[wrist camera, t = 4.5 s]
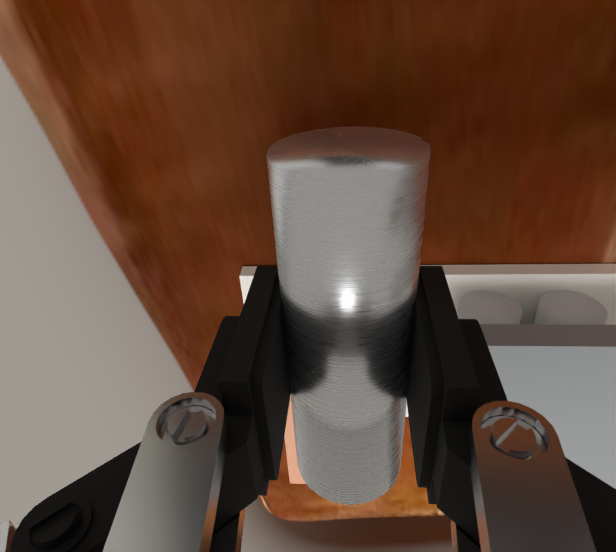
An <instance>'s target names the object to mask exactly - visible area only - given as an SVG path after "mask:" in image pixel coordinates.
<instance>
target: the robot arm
mask: <svg viewBox="0 0 616 552" xmlns="http://www.w3.org/2000/svg"><path fill="white" fill-rule="evenodd" d="M290 395H291V389H290V379H289V369H288V359H287V349H286V339H285V329H284V319H283V309H282V299H281V293H280V286H279V277H278V267H277V266H257V268H256V271H255V274H254V277H253V279H252V282H251V285H250V288H249V291H248V294H247V297H246V300H245V303H244V306H243V309H242V312H241V315H240V316H226V317H224V318H223V320H222V322H221V325H220V327H219V330H218V333H217V335H216V338H215V340H214V343H213V345H212V348H211V351H210V353H209V356H208V358H207V361H206V363H205V366H204V369H203V371H202V374H201V376H200V379H199V381H198V384H197V387H196V389H195V392H189V393H183V394H180V395H177V396H175V397H172V398H170V399H169V400H167V401H166V402H164V403H163V404H161V405H160V406H159V407H158V409H156V411H155V412H154V413H153V415H152V417H151V419H150V420H149V422H148V425H147V428H146V431H145V434H144V436H143V439H142V442H140V443H138V444H137V445H135V446H133V447H132V448H130V449H128V450H126V451H125V452H123V453H121V454H120V455H118V456H117V457H115V458H113V459H112V460H110V461H108V462H106V463H105V464H103V465H102V466H100V467H98V468H96V469H95V470H93V471H91V472H90V473H88V474H87V475H85V476H83V477H81V478H80V479H78V480H76V481H75V482H73V483H71V484H69V485H68V486H66V487H65V488H63V489H61V490H59V491H58V492H56V493H54V494H53V495H51V496H49V497H48V498H46V499H45V500H43V501H42V502H41V503H39V504H38V505H37V506H35V507H34V508H33V509H32V510H31V511H30V512H29V513H28V514H27V516H25V517H24V518H23V520H22V521H21V523H18V524H15V525H13V524H12V523H11V521H10V520H9V521H6V522H3V523H0V552H241V545H242V536H243V527H244V517H245V507H247V506H248V505H249V504H251V503H252V502H253V501H254V500H256V499H257V498H258V495H264V496H266V495H267V489H268V484H269V480H277V478H278V474H279V467H280V461H281V454H282V448H283V441H284V435H285V428H286V422H287V415H288V408H289V402H290ZM406 400H407V408H408V416H409V424H410V432H411V440H412V448H413V456H414V464H415V472H416V480H417V485H418V487H425V488H427V494H428V501H429V504H437V508H438V509H440V510H441V511H442V512H443V513H444V514H445V515H446V516H448V517H449V518H450V519H451V533H452V544H453V552H616V489H615V488H613V487H611V486H610V485H608V484H607V483H605V482H604V481H602V480H600V479H599V478H597V477H596V476H594V475H593V474H591V473H589V472H588V471H586V470H585V469H583V468H582V467H580V466H578V465H577V464H575V463H574V462H572V461H571V460H569V459H567V458H566V457H565V455H564V452H563V449H562V446H561V443H560V440H559V437H558V435H557V433H556V431H555V429H554V427H553V426H552V425H551V424H550V422H549V421H548V420H547V419H546V418H545V417H544V416H543V415H541V414H540V413H538V412H537V411H535V410H534V409H532V408H530V407H527V406H525V405H523V404H520V403H516V402H511V401H508V400H507V397H506V394H505V391H504V389H503V386H502V383H501V381H500V378H499V375H498V372H497V370H496V367H495V364H494V362H493V359H492V356H491V353H490V351H489V348H488V345H487V342H486V340H485V337H484V334H483V332H482V329H481V326H480V324H479V322H478V320H476V319H458V316H457V312H456V309H455V306H454V303H453V299H452V296H451V293H450V290H449V287H448V283H447V280H446V277H445V274H444V270H443V268H442V266H420V268H419V278H418V289H417V295H416V298H415V308H414V318H413V329H412V340H411V351H410V361H409V372H408V383H407V393H406Z"/></svg>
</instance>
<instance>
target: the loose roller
mask: <svg viewBox="0 0 616 552" xmlns="http://www.w3.org/2000/svg"><path fill="white" fill-rule="evenodd" d="M430 152H431V148H430V145H429V144H428V143H427V142H426V141H425V140H424V139H422V138H420V137H418V136H416V135H413V134H410V133H407V132H403V131H399V130H394V129H387V128H379V127H358V126H352V127H332V128H323V129H316V130H310V131H305V132H301V133H297V134H293V135H290V136H288V137H285V138H283V139H280V140H278V141H277V142H275V143H274V144H272V145H271V146H270V147H269V148H268V150H267V152H266V158H267V168H268V177H269V187H270V197H271V207H272V217H273V227H274V237H275V247H276V257H277V267H278V277H279V286H280V293H281V299H282V309H283V319H284V329H285V339H286V349H287V359H288V369H289V379H290V389H291V405H292V415H293V425H294V435H295V445H296V455H297V463H298V468H299V471H300V474H301V476H302V478H303V480H304V481H305V483H306V484H307V485H308V486H309V487H310V488H311V489H312V490H313V491H314V492H315V493H316V494H318V495H320V496H321V497H323V498H325V499H327V500H329V501H332V502H336V503H340V504H350V505H352V504H362V503H366V502H369V501H372V500H374V499H376V498H379V497H380V496H382V495H383V494H385V493H386V492H387V491H388V490H389V489H390V488H391V487H392V485H393V484H394V483H395V481H396V479H397V477H398V474H399V471H400V467H401V457H402V446H403V436H404V425H405V415H406V404H407V400H406V393H407V383H408V372H409V361H410V351H411V340H412V329H413V318H414V308H415V298H416V295H417V289H418V278H419V268H420V257H421V247H422V236H423V226H424V215H425V205H426V194H427V184H428V173H429V163H430Z"/></svg>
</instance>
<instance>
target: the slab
mask: <svg viewBox="0 0 616 552" xmlns="http://www.w3.org/2000/svg"><path fill="white" fill-rule="evenodd" d="M480 326H481V329H482V332H483V334H484V337H485V340H486V342H487V345H488V348H489V351H490V353H491V356H492V359H493V362H494V364H495V367H496V370H497V372H498V375H499V378H500V381H501V383H502V386H503V389H504V391H505V394H506V397H507V400H508V401H511V402H516V403H520V404H523V405H525V406H527V407H530V408H532V409H534V410H535V411H537V412H538V413H540V414H541V415H543V416H544V417H545V418H546V419H547V420H548V421H549V422H550V424H551V425H552V426H553V427H554V429H555V431H556V433H557V435H558V437H559V440H560V443H561V446H562V449H563V452H564V455H565V457H566V458H567V459H569V460H571V461H572V462H574V463H575V464H577V465H578V466H580V467H582V468H583V469H585V470H586V471H588V472H589V473H591V474H593V475H594V476H596V477H597V478H599V479H600V480H602V481H604V482H605V483H607V484H608V485H610V486H611V487H613V488H616V325H566V324H480Z"/></svg>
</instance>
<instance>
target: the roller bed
mask: <svg viewBox="0 0 616 552" xmlns="http://www.w3.org/2000/svg"><path fill="white" fill-rule="evenodd" d="M420 266H442V268H443V270H444V274H445V277H446V280H447V283H448V287H449V290H450V293H451V296H452V299H453V303H454V306H455V309H456V312H457V316H458V319H476V320H478V322H479V324H566V325H616V264H496V265H420ZM256 268H257V266H243V267H242V270H241V273H240V276H239V277H240V283H241V290H242V296H243V303H245V300H246V297H247V294H248V291H249V288H250V285H251V282H252V279H253V277H254V274H255V271H256ZM405 417H409V416H408V408H407V404H406V415H405ZM284 436H285V445H286V453H287V462H288V470H289V478H290V483H297V484H306V483H305V481H304V480H303V478H302V476H301V474H300V471H299V468H298V463H297V455H296V445H295V435H294V425H293V415H292V405H291V395H290V402H289V408H288V415H287V422H286V428H285V435H284Z"/></svg>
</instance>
